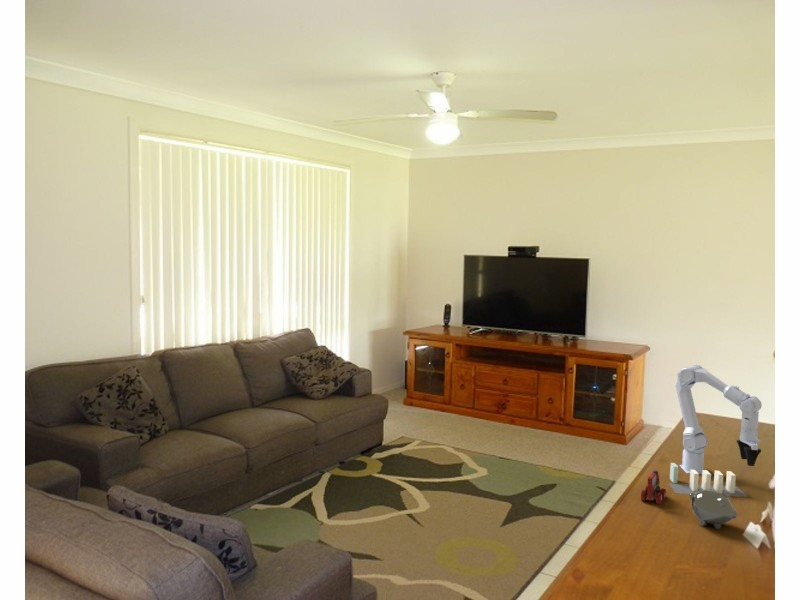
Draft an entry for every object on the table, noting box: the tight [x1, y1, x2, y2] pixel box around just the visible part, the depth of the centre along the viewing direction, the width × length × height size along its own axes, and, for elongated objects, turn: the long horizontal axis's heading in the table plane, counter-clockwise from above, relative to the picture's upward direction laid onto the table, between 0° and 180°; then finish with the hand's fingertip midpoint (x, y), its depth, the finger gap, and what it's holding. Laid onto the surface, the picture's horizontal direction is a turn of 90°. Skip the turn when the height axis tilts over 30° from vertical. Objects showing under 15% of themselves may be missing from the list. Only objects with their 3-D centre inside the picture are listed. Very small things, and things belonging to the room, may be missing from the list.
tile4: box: [713, 470, 724, 493], centre depth 248 cm, size 2×4×7 cm, turn 174°
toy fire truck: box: [640, 470, 667, 505], centre depth 240 cm, size 7×12×10 cm, turn 144°
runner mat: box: [667, 482, 749, 498], centre depth 249 cm, size 10×26×1 cm, turn 84°
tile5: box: [725, 470, 737, 493], centre depth 248 cm, size 2×4×7 cm, turn 174°
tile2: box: [689, 469, 700, 492], centre depth 249 cm, size 2×4×7 cm, turn 174°
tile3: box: [701, 469, 712, 490], centre depth 249 cm, size 2×4×7 cm, turn 174°
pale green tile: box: [669, 462, 679, 484], centre depth 258 cm, size 2×4×7 cm, turn 174°
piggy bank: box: [688, 490, 738, 530], centre depth 220 cm, size 11×15×12 cm
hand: (747, 462), depth 252 cm, fingers open, 7 cm apart
